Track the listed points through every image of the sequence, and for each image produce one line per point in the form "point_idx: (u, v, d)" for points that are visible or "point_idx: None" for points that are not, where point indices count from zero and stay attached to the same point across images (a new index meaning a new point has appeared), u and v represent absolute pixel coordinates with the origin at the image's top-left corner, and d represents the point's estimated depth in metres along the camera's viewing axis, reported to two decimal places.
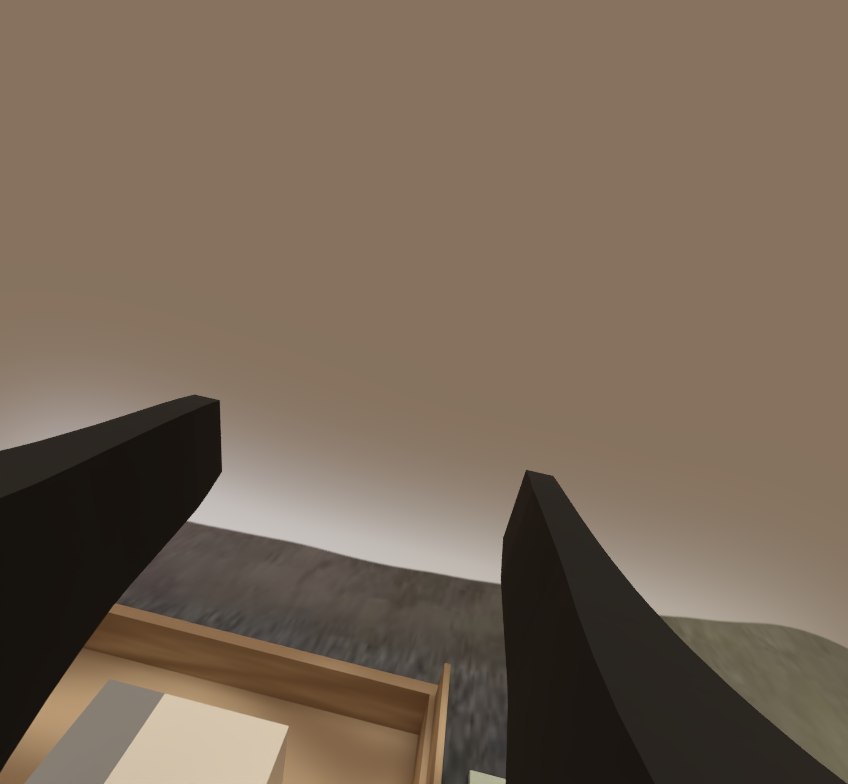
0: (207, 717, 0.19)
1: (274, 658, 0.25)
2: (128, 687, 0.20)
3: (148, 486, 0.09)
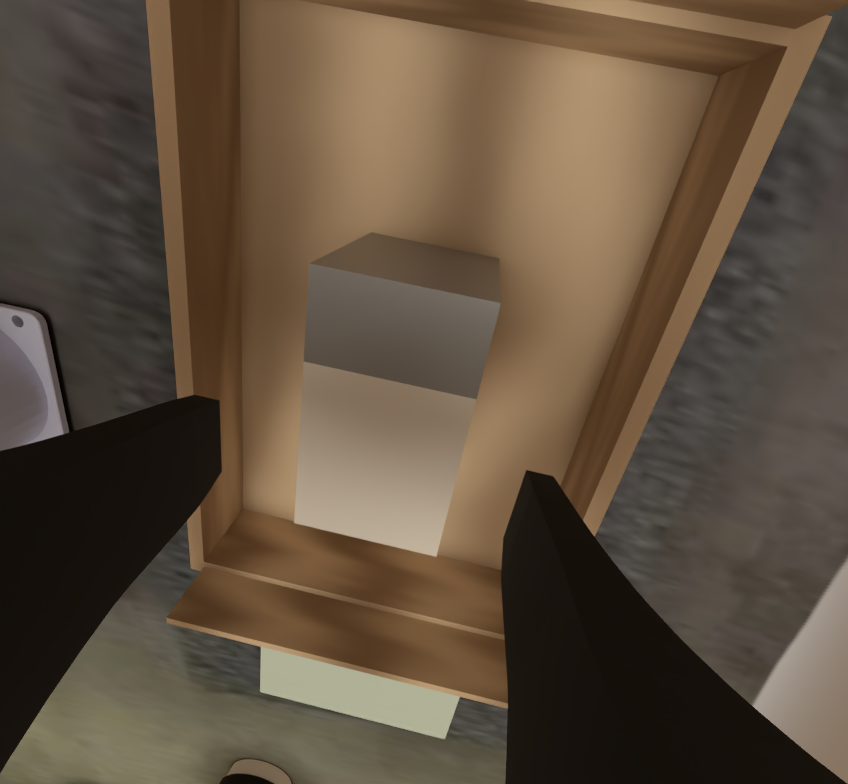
0: (441, 465, 0.13)
1: (601, 468, 0.15)
2: (485, 341, 0.11)
3: (148, 486, 0.09)
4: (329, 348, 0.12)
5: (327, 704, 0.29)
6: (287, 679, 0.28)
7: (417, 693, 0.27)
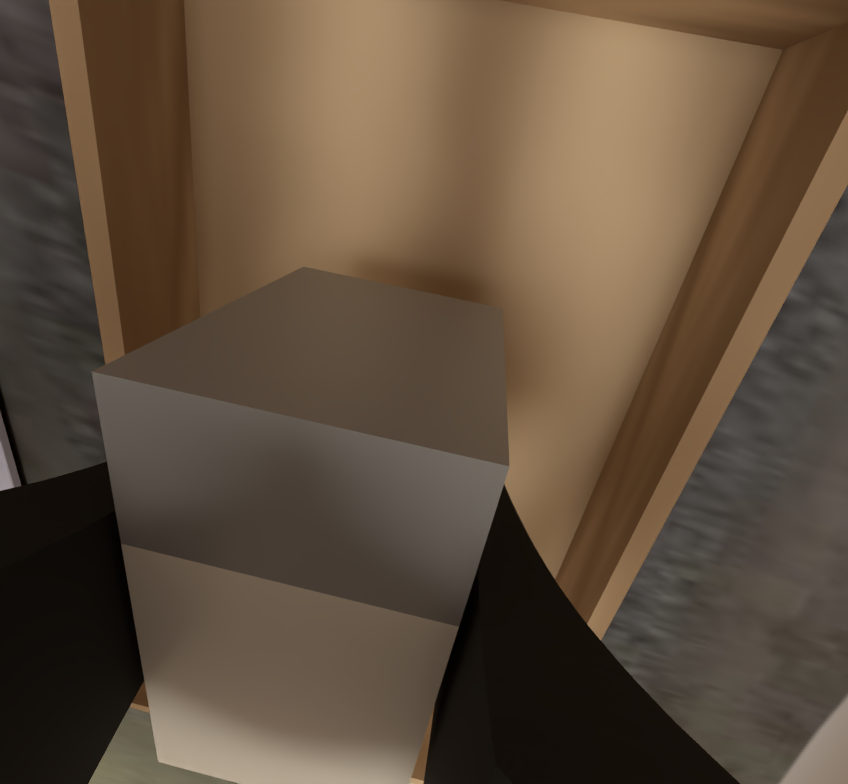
0: (397, 715, 0.07)
1: (627, 532, 0.12)
2: (475, 534, 0.05)
3: None
4: (164, 525, 0.06)
5: None
6: None
7: None
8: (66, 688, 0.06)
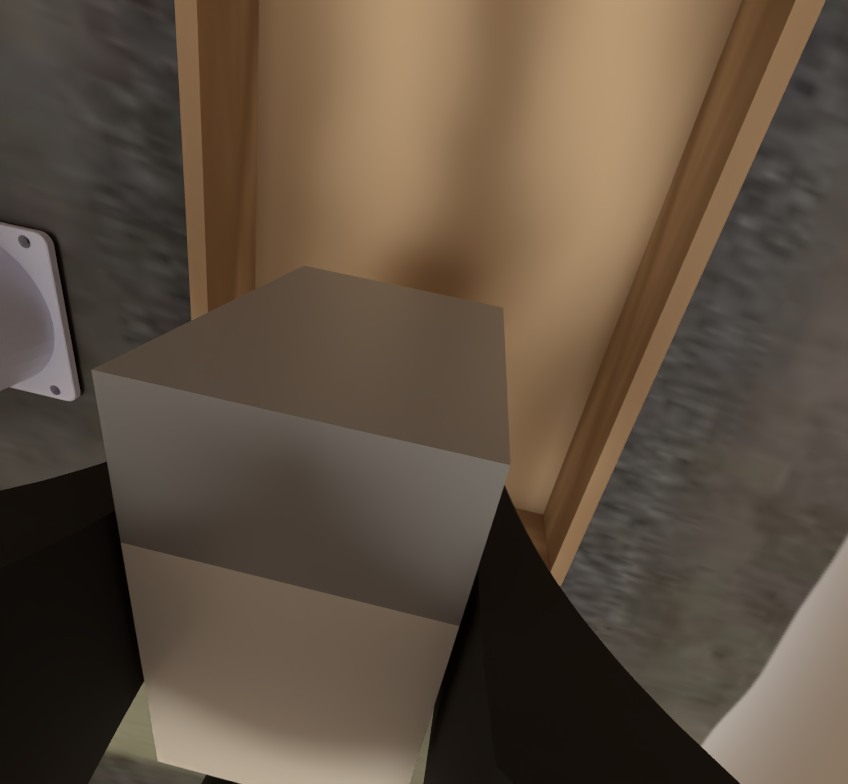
0: (397, 715, 0.07)
1: (630, 375, 0.15)
2: (475, 533, 0.05)
3: None
4: (164, 524, 0.06)
5: None
6: None
7: None
8: (66, 688, 0.06)
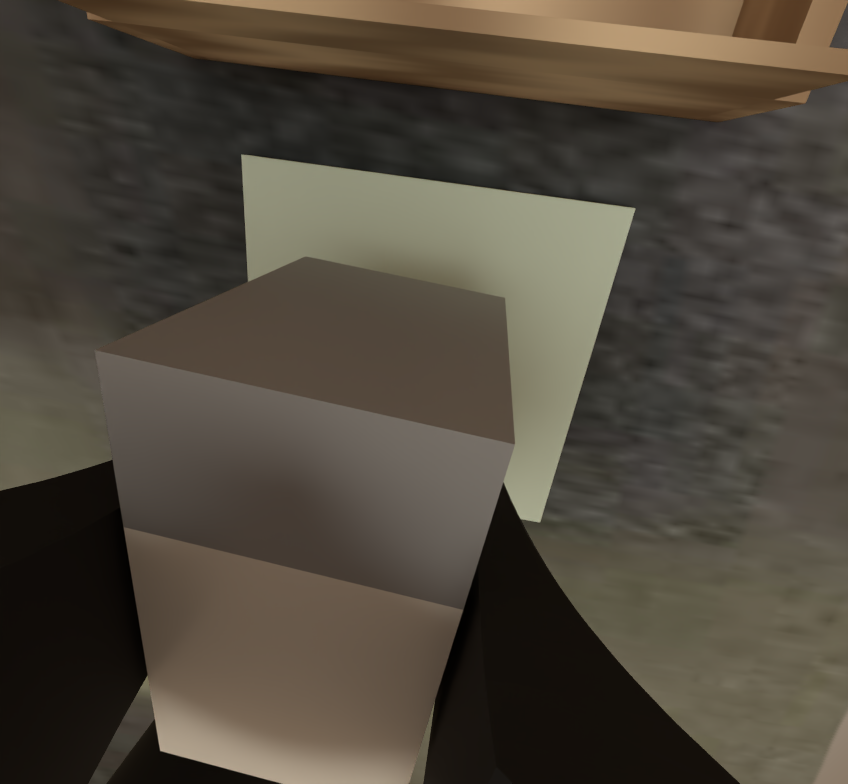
0: (400, 701, 0.07)
1: None
2: (479, 514, 0.05)
3: None
4: (166, 508, 0.06)
5: None
6: None
7: None
8: (66, 688, 0.06)
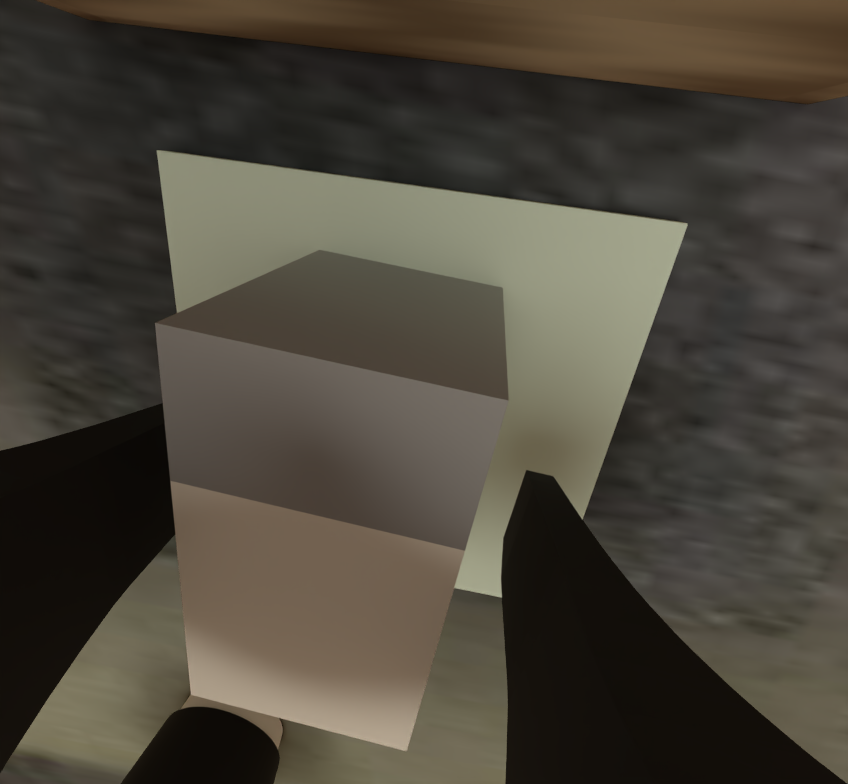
0: (409, 639, 0.08)
1: None
2: (479, 463, 0.06)
3: (148, 486, 0.09)
4: (209, 462, 0.07)
5: None
6: None
7: (502, 501, 0.14)
8: None
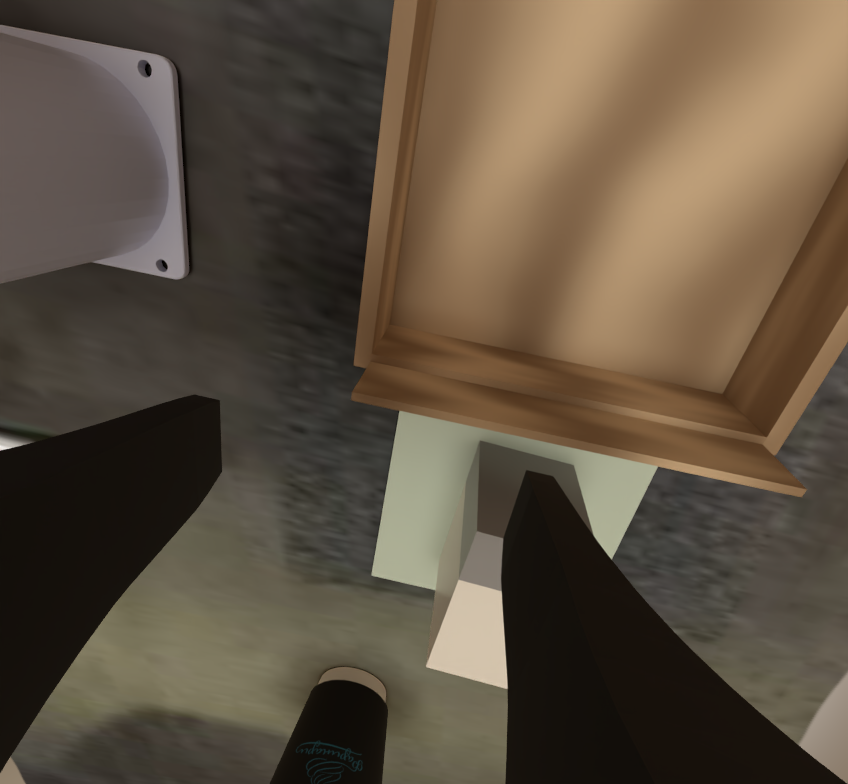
0: None
1: None
2: None
3: (148, 486, 0.09)
4: (479, 575, 0.17)
5: None
6: (406, 556, 0.25)
7: None
8: None
